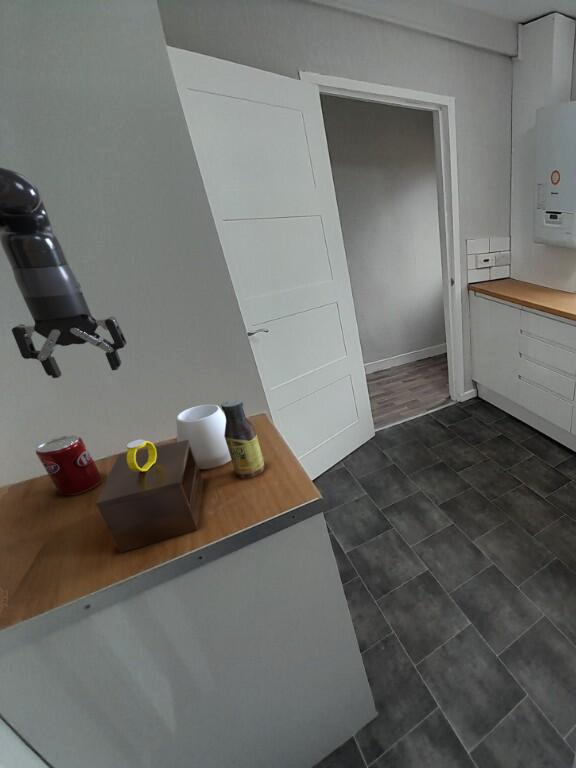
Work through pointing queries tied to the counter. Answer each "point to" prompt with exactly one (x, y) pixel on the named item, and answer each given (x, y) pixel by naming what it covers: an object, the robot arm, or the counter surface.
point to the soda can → (69, 465)
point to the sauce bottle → (242, 440)
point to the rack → (152, 497)
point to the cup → (204, 435)
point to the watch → (132, 455)
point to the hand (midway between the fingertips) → (87, 372)
